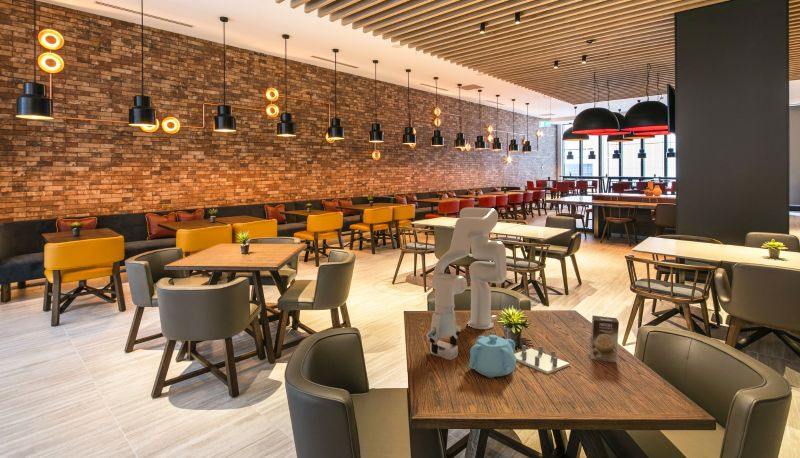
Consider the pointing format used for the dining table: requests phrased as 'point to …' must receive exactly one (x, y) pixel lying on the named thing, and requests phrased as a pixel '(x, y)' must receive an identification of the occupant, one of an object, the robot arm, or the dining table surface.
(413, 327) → the dining table surface
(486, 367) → the decorative pot
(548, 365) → the pin tray
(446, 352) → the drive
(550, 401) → the dining table surface
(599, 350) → the coffee box
